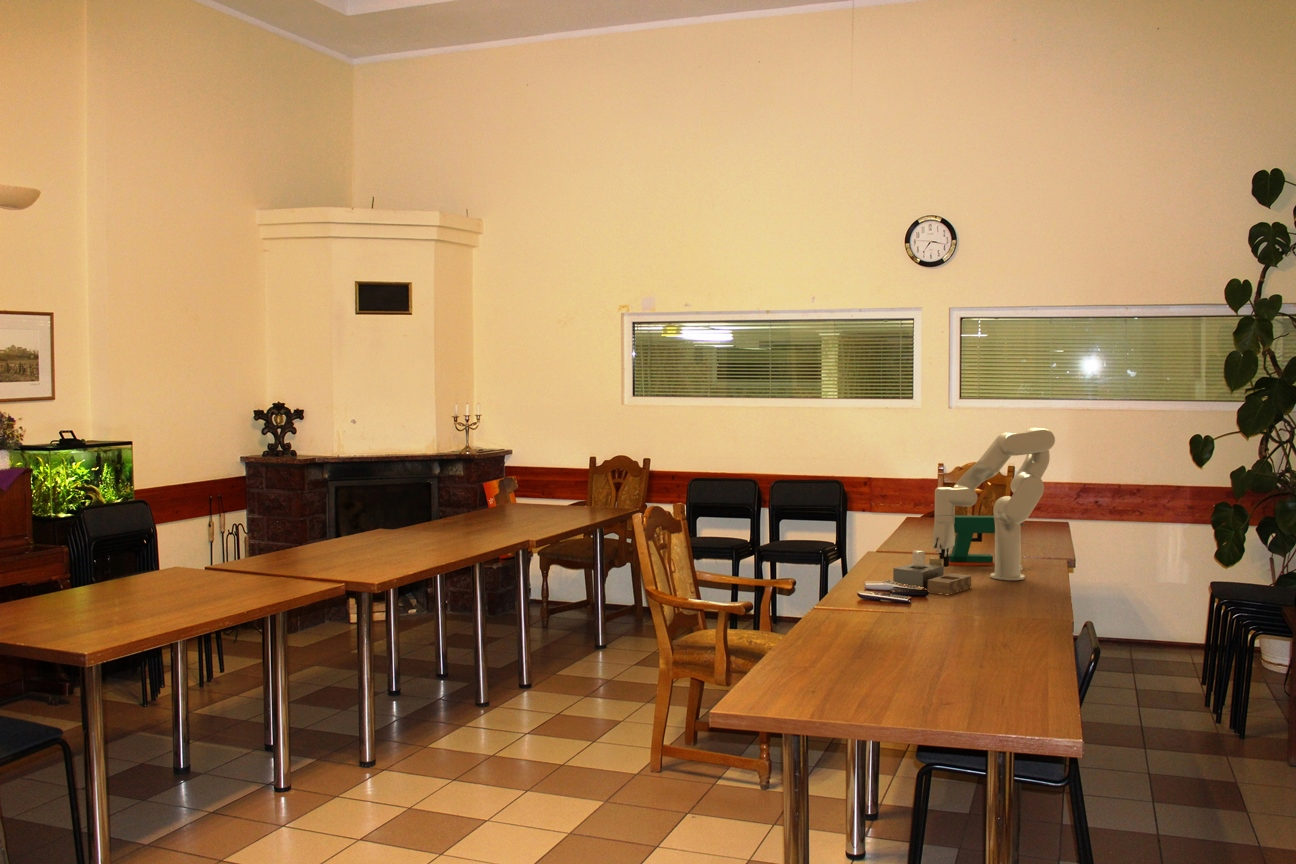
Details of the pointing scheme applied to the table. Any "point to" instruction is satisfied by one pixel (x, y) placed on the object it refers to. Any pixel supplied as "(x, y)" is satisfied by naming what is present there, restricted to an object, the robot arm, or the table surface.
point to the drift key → (936, 561)
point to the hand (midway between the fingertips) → (944, 566)
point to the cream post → (919, 559)
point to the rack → (949, 583)
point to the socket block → (917, 574)
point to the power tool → (971, 539)
